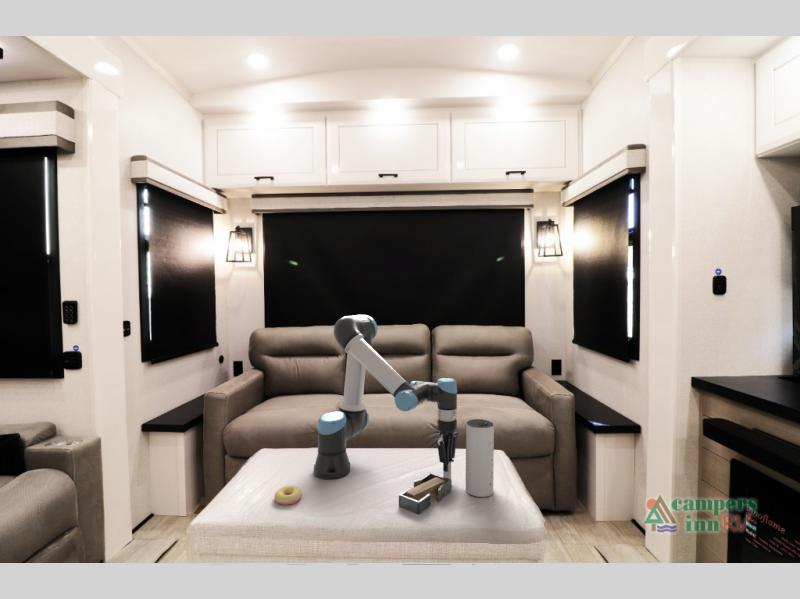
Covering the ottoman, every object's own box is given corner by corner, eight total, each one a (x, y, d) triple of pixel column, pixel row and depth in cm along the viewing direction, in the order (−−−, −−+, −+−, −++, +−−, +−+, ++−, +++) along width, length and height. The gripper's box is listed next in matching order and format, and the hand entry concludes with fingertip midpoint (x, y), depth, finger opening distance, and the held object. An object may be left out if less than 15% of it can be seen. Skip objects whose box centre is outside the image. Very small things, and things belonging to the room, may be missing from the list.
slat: (405, 505, 143) (405, 491, 143) (436, 490, 154) (436, 477, 154) (413, 509, 140) (413, 495, 140) (444, 494, 151) (444, 480, 151)
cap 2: (413, 491, 152) (413, 481, 152) (427, 481, 160) (427, 471, 160) (440, 501, 145) (440, 490, 145) (454, 490, 153) (454, 480, 153)
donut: (297, 496, 153) (272, 498, 149) (299, 483, 154) (273, 485, 150) (303, 505, 144) (276, 507, 140) (304, 491, 145) (278, 493, 141)
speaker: (476, 481, 160) (476, 415, 160) (499, 490, 153) (499, 421, 152) (459, 490, 153) (460, 422, 152) (483, 501, 146) (484, 429, 145)
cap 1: (398, 506, 142) (398, 494, 142) (410, 498, 148) (410, 487, 148) (419, 514, 137) (419, 502, 137) (430, 505, 143) (430, 494, 142)
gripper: (446, 425, 152) (446, 487, 152) (463, 416, 162) (463, 475, 163) (429, 421, 156) (430, 481, 157) (447, 412, 167) (447, 469, 167)
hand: (447, 478), depth 160 cm, fingers closed
